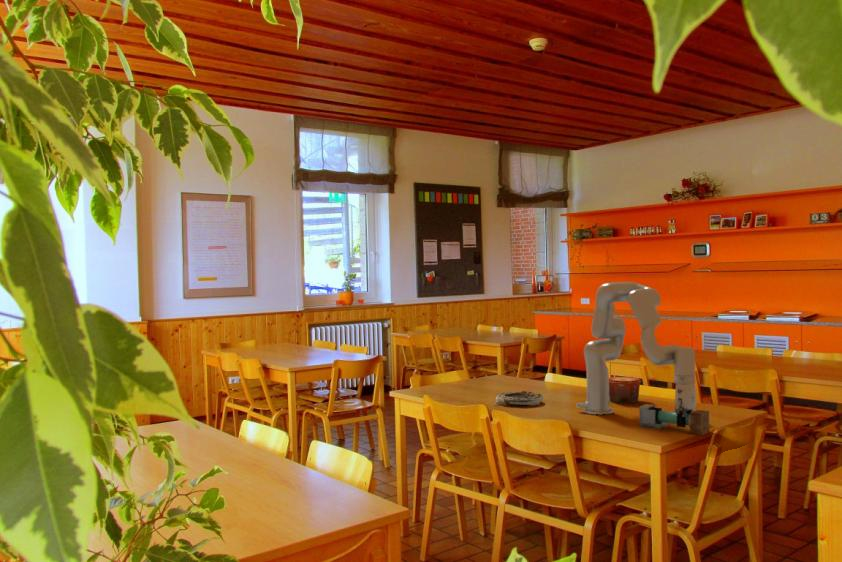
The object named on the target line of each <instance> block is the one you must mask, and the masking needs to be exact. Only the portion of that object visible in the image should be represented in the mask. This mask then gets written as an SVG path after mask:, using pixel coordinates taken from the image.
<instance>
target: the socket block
mask: <svg viewBox="0 0 842 562" xmlns="http://www.w3.org/2000/svg"><path fill="white" fill-rule="evenodd" d="M689 431H690V432H689V434H690V435H695V436H704V435H705V434H708V433H710V411H709V410H704V409H703V410H702V409H696V410H694V412H692V413H690V427H689Z"/></svg>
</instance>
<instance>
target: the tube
mask: <svg viewBox="0 0 842 562" xmlns="http://www.w3.org/2000/svg"><path fill="white" fill-rule="evenodd" d="M691 413H692V412H691ZM676 414H677V413H676V412H675V411H667V410H662V411H659V413H658V421H659V422H665V423H667V424H673V425H677V416H676ZM684 417H686V426H688V427H689V428H690V414H685V416H684Z"/></svg>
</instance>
